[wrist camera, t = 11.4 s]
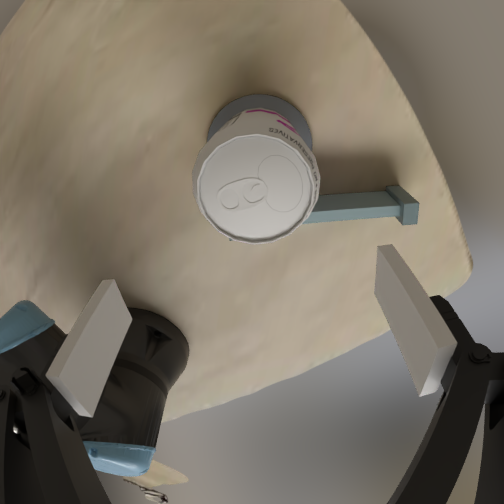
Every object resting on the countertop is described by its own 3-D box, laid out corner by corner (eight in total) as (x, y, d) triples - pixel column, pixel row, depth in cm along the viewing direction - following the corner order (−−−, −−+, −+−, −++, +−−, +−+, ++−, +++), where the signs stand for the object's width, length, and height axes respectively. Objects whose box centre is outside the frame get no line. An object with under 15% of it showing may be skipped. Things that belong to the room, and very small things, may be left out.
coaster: (216, 198, 35) (216, 200, 34) (200, 102, 29) (199, 102, 29) (314, 188, 34) (315, 190, 33) (306, 90, 28) (307, 90, 28)
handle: (234, 218, 36) (229, 240, 31) (231, 198, 35) (225, 218, 30) (398, 204, 34) (417, 224, 30) (399, 185, 33) (419, 203, 28)
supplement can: (285, 98, 29) (303, 106, 16) (306, 171, 32) (336, 234, 19) (208, 121, 30) (166, 150, 17) (234, 191, 34) (215, 266, 21)
